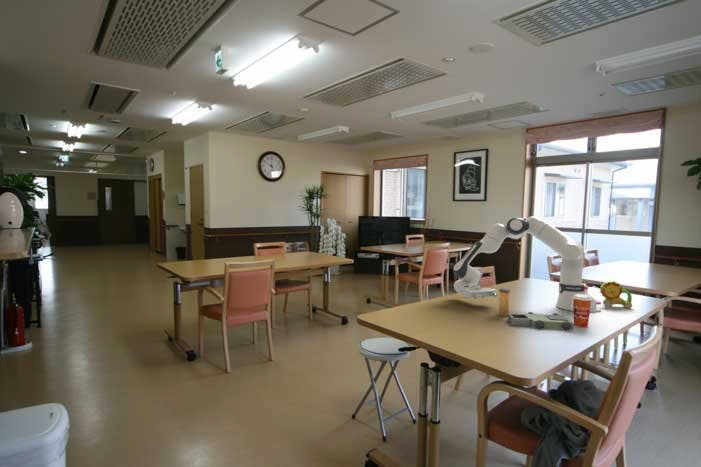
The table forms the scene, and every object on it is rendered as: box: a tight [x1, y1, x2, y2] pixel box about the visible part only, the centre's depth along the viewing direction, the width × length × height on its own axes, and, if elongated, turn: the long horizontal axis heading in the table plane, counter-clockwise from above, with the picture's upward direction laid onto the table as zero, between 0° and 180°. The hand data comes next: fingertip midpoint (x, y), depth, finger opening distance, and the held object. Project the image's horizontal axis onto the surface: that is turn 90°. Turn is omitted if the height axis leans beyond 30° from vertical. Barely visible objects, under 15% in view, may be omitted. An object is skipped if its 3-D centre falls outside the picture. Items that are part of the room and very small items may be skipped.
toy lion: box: [599, 280, 633, 309], centre depth 229 cm, size 16×5×15 cm, turn 72°
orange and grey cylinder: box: [498, 288, 511, 317], centre depth 208 cm, size 5×5×14 cm
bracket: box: [585, 290, 602, 305], centre depth 241 cm, size 13×6×7 cm, turn 29°
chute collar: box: [507, 313, 532, 327], centre depth 194 cm, size 9×9×4 cm
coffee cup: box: [572, 294, 592, 328], centre depth 191 cm, size 8×8×15 cm
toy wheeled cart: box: [524, 311, 574, 331], centre depth 192 cm, size 18×16×4 cm
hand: (489, 295), depth 219 cm, fingers open, 8 cm apart
